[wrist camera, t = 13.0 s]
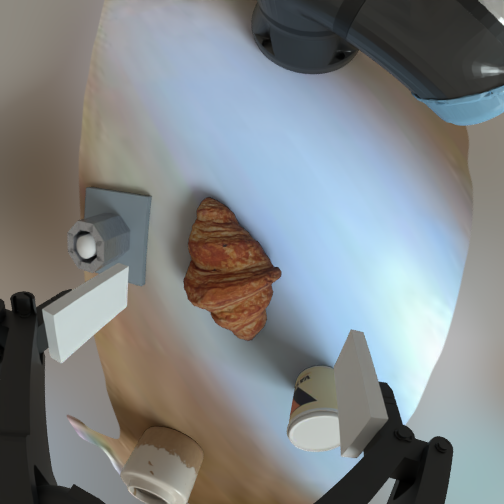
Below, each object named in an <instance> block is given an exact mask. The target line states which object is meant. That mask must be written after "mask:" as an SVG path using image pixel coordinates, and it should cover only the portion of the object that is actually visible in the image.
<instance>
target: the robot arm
mask: <svg viewBox="0 0 504 504" xmlns="http://www.w3.org/2000/svg"><path fill="white" fill-rule="evenodd" d="M252 32H253V35H254V38H255V41H256V43H257V45H258V47H259V48H260V50H261V51H262V53H263V54H264V55H265V56H266V57H267V58H268V59H270V60H271V61H272V62H274V63H275V64H277V65H279V66H281V67H283V68H285V69H287V70H290V71H294V72H298V73H304V74H322V73H328V72H331V71H335V70H337V69H339V68H341V67H343V66H345V65H346V64H348V63H349V62H350V61H351V60H352V59H353V58H354V57H355V55H356V54H357V52H358V50H360V51H361V52H363V53H364V54H366V55H367V56H368V57H370V58H371V59H372V60H374V61H375V62H376V63H378V64H379V65H380V66H382V67H383V68H384V69H385V70H387V71H388V72H389V73H390V74H392V75H393V76H394V77H395V78H396V79H398V80H399V81H400V82H401V83H402V84H403V85H405V86H406V87H407V88H408V89H409V90H410V91H411V93H412V95H413V96H414V97H415V98H416V99H418V100H419V101H421V102H424V103H425V104H426V105H427V106H428V107H429V108H430V109H432V110H433V111H434V112H435V113H436V114H437V115H438V116H439V117H440V118H441V119H443V120H444V121H446V122H449V123H452V124H455V125H473V124H478V123H481V122H484V121H487V120H489V119H492V118H494V117H496V116H498V115H500V114H501V113H503V112H504V0H257V4H256V7H255V9H254V12H253V15H252ZM128 271H129V266H126V265H123V264H120V263H117V264H116V265H114V266H112V267H110V268H109V269H107V270H105V271H104V272H102V273H100V274H98V275H97V276H95V277H93V278H92V279H90V280H88V281H87V282H85V283H83V284H82V285H80V286H79V287H77V288H75V289H73V290H72V289H69V290H66V291H62V292H61V293H59V294H57V295H56V296H54V297H52V298H51V299H50V300H47V301H46V302H44V303H43V304H41V305H39V306H38V307H36V305H35V297H34V295H33V294H32V293H30V292H24V291H23V292H18V293H15V294H13V295H12V296H11V298H10V300H11V305H12V311H10V310H7V309H5V304H4V301H3V300H2V299H0V504H105V503H104V502H103V501H101V500H100V499H99V498H97V497H95V496H93V495H92V494H90V493H88V492H86V491H85V490H83V489H81V488H80V487H78V486H76V485H75V484H73V486H72V487H71V489H70V488H67V487H63V486H57V482H56V480H55V478H54V475H53V472H52V467H51V461H50V453H49V445H48V437H47V425H46V411H45V355H44V351H45V350H46V349H47V348H49V352H50V357H51V358H53V359H55V360H56V361H58V362H59V363H63V362H64V361H65V360H66V359H67V358H68V357H69V356H70V355H72V354H73V353H74V352H75V351H76V350H77V349H78V348H79V347H81V345H83V344H84V343H85V342H86V341H87V340H88V339H89V338H91V337H92V336H93V335H94V334H95V333H96V332H98V331H99V330H100V329H101V328H102V327H103V326H104V325H106V324H107V323H108V322H109V321H110V320H111V319H113V318H114V317H115V316H116V315H117V314H118V313H120V312H121V311H122V310H123V309H124V308H125V307H127V289H128ZM334 376H335V385H336V395H337V406H338V418H339V431H340V446H341V457H351V458H357V457H358V456H359V455H360V454H361V453H362V452H364V457H363V458H362V459H361V460H360V461H359V462H358V463H357V464H356V465H355V466H354V467H353V468H352V469H351V470H350V471H349V472H348V473H347V474H346V475H345V476H344V477H343V478H342V479H341V480H340V481H339V482H338V483H337V484H336V485H335V486H333V487H332V488H331V489H330V490H329V491H328V492H327V493H326V494H325V495H323V496H322V497H321V498H320V499H319V500H318V501H316V502H315V503H314V504H368V503H369V502H370V500H371V499H372V498H373V497H374V496H375V494H376V493H377V492H378V491H379V490H380V488H381V487H382V486H383V485H384V483H385V482H386V481H387V480H388V478H389V477H390V478H393V479H396V481H395V484H394V487H393V489H392V492H391V494H390V497H389V499H388V502H387V504H444V503H445V499H446V494H447V489H448V484H449V478H450V471H451V465H452V457H453V447H452V445H451V443H450V442H449V441H448V440H447V439H445V438H443V437H440V436H437V437H434V438H433V439H431V440H430V441H429V442H425V441H421V440H418V439H416V438H415V436H414V433H413V432H412V430H411V429H410V428H408V427H407V426H405V425H403V424H402V420H401V417H400V413H399V410H398V407H397V405H396V404H397V403H396V400H395V399H394V398H395V397H394V394H393V391H392V389H391V388H390V387H389V385H388V384H387V383H384V382H378V379H377V375H376V372H375V368H374V365H373V362H372V358H371V355H370V352H369V349H368V345H367V342H366V339H365V336H364V333H363V332H360V331H356V330H350V333H349V335H348V337H347V340H346V342H345V344H344V346H343V348H342V351H341V353H340V355H339V357H338V359H337V361H336V363H335V365H334Z"/></svg>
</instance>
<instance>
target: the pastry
mask: <svg viewBox="0 0 504 504" xmlns="http://www.w3.org/2000/svg"><path fill="white" fill-rule="evenodd" d="M188 249H189V253H190V255H191V258H192V260H191V262H190V266H189V267H188V271H187V273H186V276H185V278H184V289H185V291H186V293H187V297H188V300H189V301H190V302H191V303H192V304H193V305H194V306H197V307H199V308H202V309H206V310H207V311H209V312H211V316H212V318H213V319H214V321H215V322H216V323H217V324H218V325H219V326H221V327H223V328H226V329H229V330H231V331H232V332H233V333H234V335H236V336H237V337H238V338H240V339H244V340H247V341H249V340H252V339H253V338H254V337H255V335H256V334H257V333H259V332H260V330H261V329H262V328H263V327H264V326H265V323H266V320H267V315H266V310H265V308H266V307H267V306H268V305H269V303H270V301H271V297H272V295H273V290H272V286H271V285H272V283H273V282H275V281H276V280H278V279H279V278H280V277H281V270H280V269H279V268H278V267H274V266H273V265H272V263H271V261H270V259H269V258H268V256H267V255H266V254H265V253H264V251H263V249H262V247H261V246H260V244H259V242H258V241H256V240H254V239H253V238H252V237H251V236H250V234H249V232H247V231H246V230H244V228H242V227H241V226H240V225H239V223H238V221H237V219H236V217H235V214H234V213H233V212H232V211H231V210H230V209H229V208H228V207H226V206H225V205H224V204H222V203H220V202H218V201H217V200H215V199H212V198H210V197H207V198H205V199H204V200H203V201H202V202H201V204H200V206H199V207H198V209H197V219H196V221H195V223H194V224H193V225H192V231H191V233H190V237H189V242H188Z"/></svg>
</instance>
